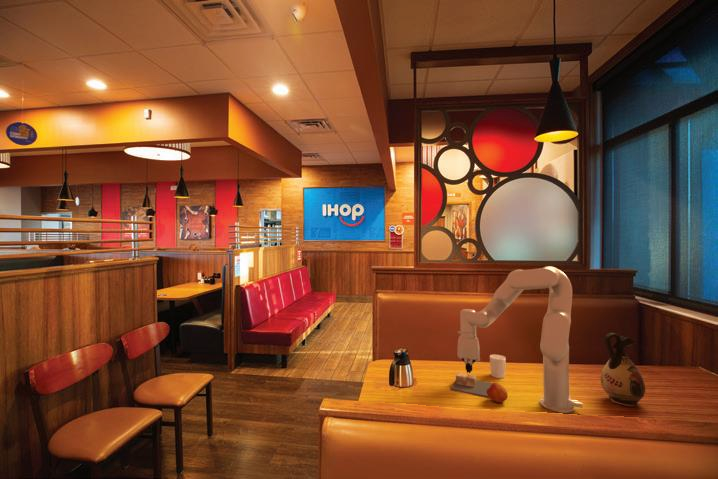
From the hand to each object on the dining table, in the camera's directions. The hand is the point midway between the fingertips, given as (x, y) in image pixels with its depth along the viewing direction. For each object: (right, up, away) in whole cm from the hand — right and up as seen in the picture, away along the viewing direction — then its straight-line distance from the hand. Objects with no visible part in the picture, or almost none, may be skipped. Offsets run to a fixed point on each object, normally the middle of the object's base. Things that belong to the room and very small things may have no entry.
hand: (469, 371), depth 164 cm
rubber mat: (+1, -7, -2) cm, 7 cm away
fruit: (+7, -7, -17) cm, 19 cm away
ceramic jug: (+61, -6, -18) cm, 64 cm away
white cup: (+19, -7, +12) cm, 24 cm away
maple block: (+3, -4, -1) cm, 5 cm away
